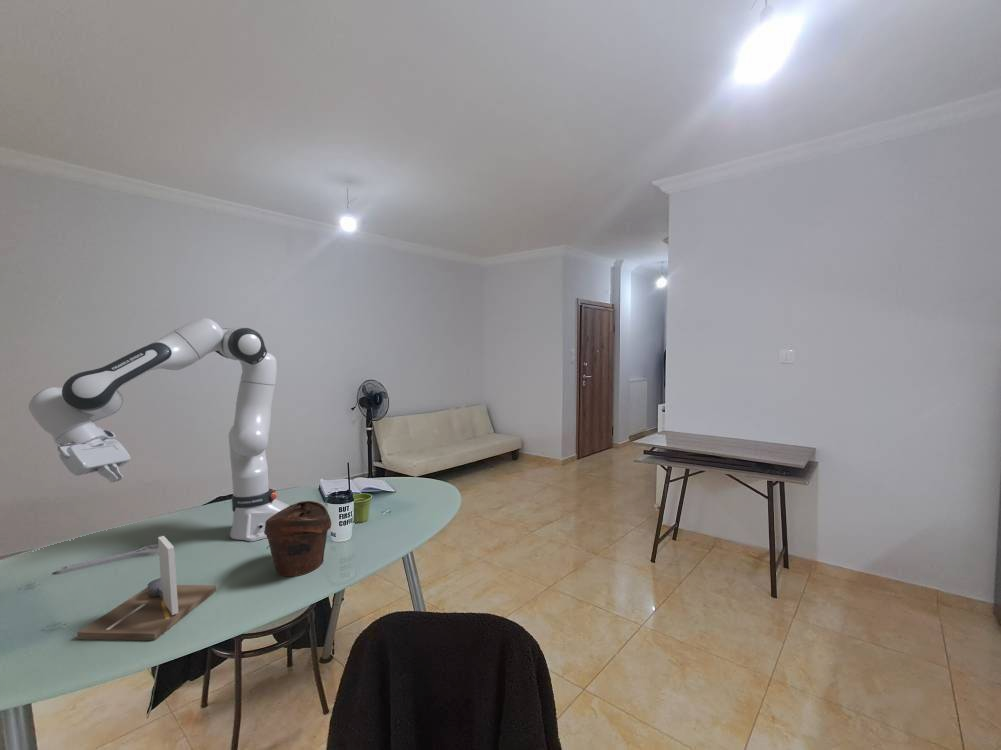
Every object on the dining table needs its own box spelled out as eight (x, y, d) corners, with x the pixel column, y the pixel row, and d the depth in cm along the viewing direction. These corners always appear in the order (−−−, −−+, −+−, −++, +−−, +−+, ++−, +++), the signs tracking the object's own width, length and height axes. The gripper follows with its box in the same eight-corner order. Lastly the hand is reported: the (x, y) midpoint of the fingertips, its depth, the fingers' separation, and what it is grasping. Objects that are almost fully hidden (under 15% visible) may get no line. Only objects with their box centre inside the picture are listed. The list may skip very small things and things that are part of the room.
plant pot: (358, 527, 160) (357, 503, 160) (341, 522, 165) (340, 499, 165) (378, 518, 168) (377, 495, 167) (361, 513, 173) (360, 491, 172)
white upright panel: (146, 592, 115) (142, 531, 114) (169, 584, 119) (165, 525, 118) (162, 618, 104) (157, 551, 103) (187, 609, 107) (183, 544, 106)
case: (316, 544, 146) (313, 491, 145) (344, 565, 132) (341, 506, 130) (257, 564, 134) (253, 506, 132) (280, 590, 119) (276, 525, 118)
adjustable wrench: (54, 577, 129) (54, 571, 129) (61, 568, 134) (61, 562, 134) (162, 554, 142) (162, 548, 142) (165, 546, 148) (164, 541, 147)
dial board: (151, 590, 120) (151, 584, 120) (216, 590, 119) (216, 585, 119) (77, 638, 100) (77, 632, 100) (155, 640, 99) (154, 633, 99)
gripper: (66, 436, 112) (104, 478, 113) (116, 431, 132) (148, 467, 133) (41, 452, 110) (80, 495, 112) (96, 445, 130) (128, 481, 131)
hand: (117, 480), depth 122 cm, fingers closed
